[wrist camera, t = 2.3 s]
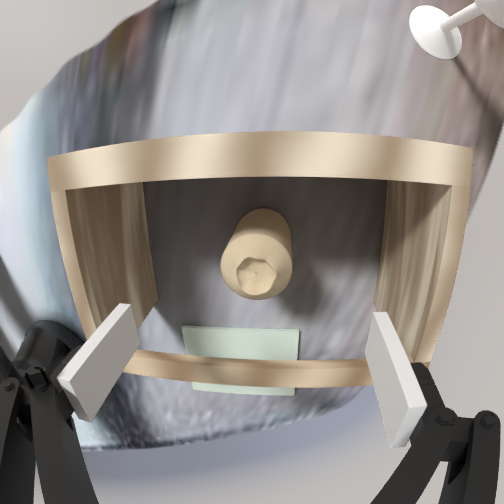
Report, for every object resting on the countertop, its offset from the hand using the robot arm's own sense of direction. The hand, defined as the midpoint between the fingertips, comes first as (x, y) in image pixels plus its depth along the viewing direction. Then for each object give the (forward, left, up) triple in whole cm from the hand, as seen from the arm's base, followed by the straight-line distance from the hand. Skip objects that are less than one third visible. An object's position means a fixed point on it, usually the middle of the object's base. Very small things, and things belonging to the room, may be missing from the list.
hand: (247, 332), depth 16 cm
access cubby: (0, +1, -17) cm, 17 cm away
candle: (0, 0, -17) cm, 17 cm away
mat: (-3, -17, -17) cm, 24 cm away
